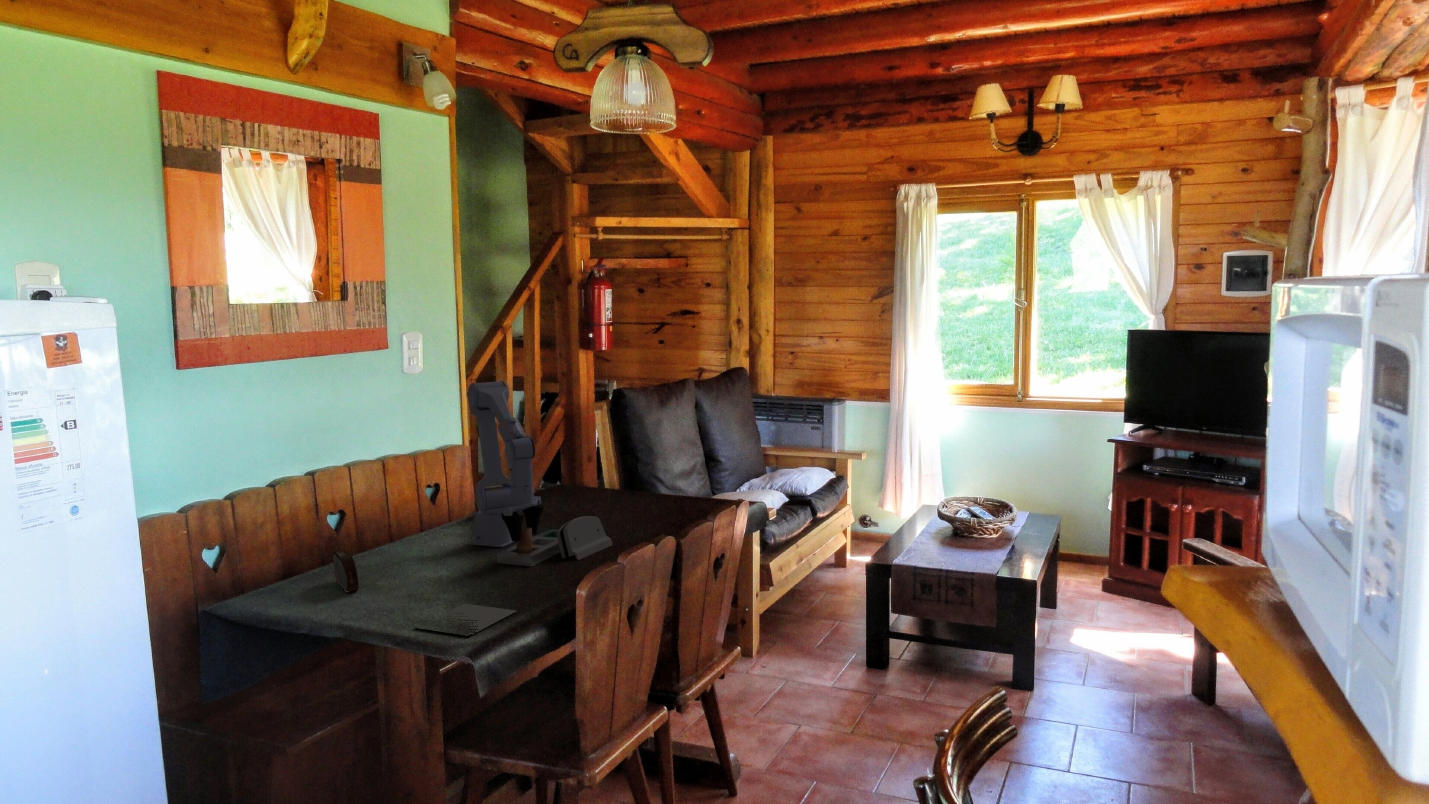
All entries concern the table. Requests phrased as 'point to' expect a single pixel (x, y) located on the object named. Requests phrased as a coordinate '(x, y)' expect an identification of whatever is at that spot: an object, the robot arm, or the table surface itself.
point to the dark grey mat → (480, 615)
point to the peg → (525, 541)
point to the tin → (345, 570)
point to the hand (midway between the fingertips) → (524, 537)
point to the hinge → (582, 537)
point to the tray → (542, 550)
